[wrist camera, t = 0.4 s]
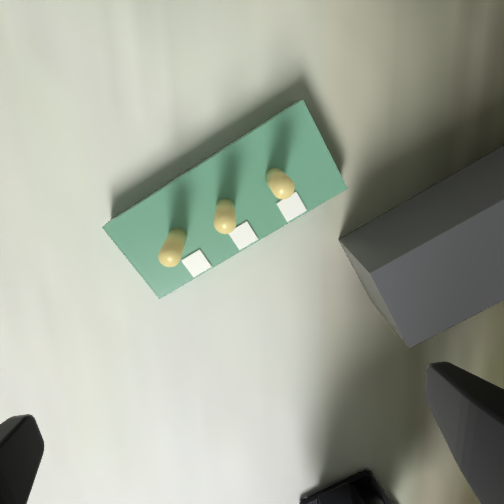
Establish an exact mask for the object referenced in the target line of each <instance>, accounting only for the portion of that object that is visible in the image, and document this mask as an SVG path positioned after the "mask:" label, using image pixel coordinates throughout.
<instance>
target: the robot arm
mask: <svg viewBox="0 0 504 504" xmlns="http://www.w3.org/2000/svg"><path fill="white" fill-rule="evenodd" d="M425 397H426V401H427V403H428V405H429V408H430V410H431V412H432V414H433V416H434V418H435V420H436V422H437V424H438V426H439V428H440V430H441V432H442V434H443V436H444V438H445V440H446V442H447V444H448V446H449V448H450V450H451V453H452V455H453V457H454V459H455V461H456V462H457V464H458V466H459V468H460V470H461V472H462V473H463V475H464V477H465V479H466V480H467V482H468V484H469V485H470V487H471V488H472V490H473V492H474V493H475V495H476V497H477V498H478V500H479V502H480V503H481V504H504V389H502V388H500V387H498V386H496V385H494V384H492V383H490V382H488V381H486V380H483V379H481V378H479V377H477V376H475V375H473V374H471V373H469V372H467V371H465V370H463V369H461V368H459V367H457V366H455V365H453V364H451V363H449V362H437V363H431V364H429V365H428V366H427V370H426V383H425ZM43 452H44V441H43V438H42V435H41V433H40V430H39V428H38V425H37V423H36V420H35V418H34V417H33V416H32V415H29V414H27V415H19V416H13V417H10V418H9V419H7V420H6V421H4V422H3V423H2V424H0V504H27V501H28V498H29V495H30V492H31V489H32V486H33V483H34V480H35V477H36V474H37V471H38V468H39V465H40V462H41V459H42V456H43ZM299 504H394V503H393V502H392V501H391V499H390V498H389V496H388V495H387V493H386V492H385V490H384V489H383V487H382V486H381V484H380V483H379V481H378V480H377V479H376V477H375V476H374V474H373V473H372V472H371V471H369V470H366V471H363V472H361V473H359V474H357V475H355V476H352V477H350V478H348V479H346V480H344V481H342V482H340V483H338V484H336V485H333V486H331V487H329V488H327V489H325V490H323V491H321V492H319V493H317V494H314V495H312V496H310V497H308V498H306V499H304V500H302V501H301V502H300V503H299Z"/></svg>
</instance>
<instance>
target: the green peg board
mask: <svg viewBox="0 0 504 504" xmlns="http://www.w3.org/2000/svg"><path fill="white" fill-rule="evenodd" d="M345 189H347V186H346V184H345V182H344V180H343V178H342V176H341V174H340V172H339V170H338V168H337V166H336V164H335V162H334V160H333V158H332V156H331V154H330V152H329V150H328V148H327V146H326V144H325V142H324V140H323V138H322V136H321V134H320V132H319V130H318V128H317V126H316V124H315V122H314V120H313V118H312V116H311V114H310V112H309V110H308V108H307V106H306V104H305V102H304V100H300V101H297V102H295V103H294V104H292V105H290V106H289V107H287V108H286V109H284V110H283V111H281V112H279V113H278V114H276V115H275V116H273V117H272V118H270V119H268V120H267V121H265V122H264V123H262V124H261V125H259V126H257V127H256V128H254V129H253V130H251V131H250V132H248V133H246V134H245V135H243V136H242V137H240V138H238V139H237V140H235V141H234V142H232V143H231V144H229V145H227V146H226V147H224V148H223V149H221V150H220V151H218V152H216V153H215V154H213V155H212V156H210V157H209V158H207V159H205V160H204V161H202V162H201V163H199V164H198V165H196V166H194V167H193V168H191V169H190V170H188V171H187V172H185V173H183V174H182V175H180V176H179V177H177V178H176V179H174V180H172V181H171V182H169V183H168V184H166V185H165V186H163V187H161V188H160V189H158V190H157V191H155V192H154V193H152V194H150V195H149V196H147V197H146V198H144V199H143V200H141V201H139V202H138V203H136V204H135V205H133V206H132V207H130V208H128V209H127V210H125V211H124V212H122V213H121V214H119V215H117V216H116V217H114V218H113V219H111V220H110V221H109V222H108V223H106V224H105V225H104V226H103V227H102V228H103V229H104V230H105V232H106V233H107V234H108V235H109V237H110V238H111V239H112V240H113V242H114V243H115V244H116V245H117V247H118V248H119V249H120V250H121V252H122V253H123V254H124V255H125V257H126V258H127V259H128V260H129V262H130V263H131V264H132V265H133V267H134V268H135V269H136V270H137V272H138V273H139V274H140V275H141V277H142V278H143V279H144V280H145V282H146V283H147V284H148V285H149V287H150V288H151V289H152V290H153V292H154V293H155V294H156V295H157V297H158V298H159V299H160V298H162V297H164V296H166V295H167V294H169V293H171V292H172V291H174V290H176V289H177V288H179V287H181V286H182V285H184V284H186V283H188V282H189V281H191V280H193V279H194V278H196V277H198V276H199V275H201V274H203V273H205V272H206V271H208V270H210V269H211V268H213V267H215V266H216V265H218V264H220V263H222V262H223V261H225V260H227V259H228V258H230V257H232V256H233V255H235V254H237V253H239V252H240V251H242V250H244V249H245V248H247V247H249V246H250V245H252V244H254V243H255V242H257V241H259V240H261V239H262V238H264V237H266V236H267V235H269V234H271V233H272V232H274V231H276V230H278V229H279V228H281V227H283V226H284V225H286V224H288V223H289V222H291V221H293V220H295V219H296V218H298V217H300V216H301V215H303V214H305V213H306V212H308V211H310V210H311V209H313V208H315V207H317V206H318V205H320V204H322V203H323V202H325V201H327V200H328V199H330V198H332V197H334V196H335V195H337V194H339V193H340V192H342V191H344V190H345Z"/></svg>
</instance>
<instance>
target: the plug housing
mask: <svg viewBox="0 0 504 504" xmlns="http://www.w3.org/2000/svg"><path fill="white" fill-rule="evenodd" d="M339 241H340V243H341V245H342V247H343V249H344V251H345V253H346V254H347V256H348V258H349V260H350V262H351V264H352V266H353V267H354V269H355V271H356V273H357V275H358V277H359V279H360V280H361V282H362V284H363V286H364V288H365V290H366V292H367V293H368V295H369V297H370V299H371V301H372V302H373V304H374V305H375V306H376V308H377V309H378V310H379V311H380V313H381V314H382V315H383V316H384V318H385V319H386V320H387V321H388V323H389V324H390V325H391V326H392V328H393V329H394V330H395V331H396V333H397V334H398V335H399V336H400V338H401V339H402V340H403V341H404V343H405V344H406V345H407V347H408V348H411V347H413V346H415V345H417V344H419V343H421V342H423V341H425V340H427V339H429V338H431V337H433V336H435V335H437V334H438V333H440V332H442V331H444V330H446V329H448V328H450V327H452V326H454V325H456V324H458V323H460V322H462V321H464V320H466V319H468V318H470V317H472V316H474V315H475V314H477V313H479V312H481V311H483V310H485V309H487V308H489V307H491V306H493V305H495V304H497V303H499V302H501V301H503V300H504V145H503V146H502V147H500V148H498V149H496V150H495V151H493V152H491V153H489V154H488V155H486V156H484V157H482V158H481V159H479V160H477V161H475V162H474V163H472V164H470V165H468V166H467V167H465V168H463V169H461V170H460V171H458V172H456V173H454V174H453V175H451V176H449V177H447V178H446V179H444V180H442V181H440V182H439V183H437V184H435V185H433V186H432V187H430V188H428V189H426V190H425V191H423V192H421V193H419V194H418V195H416V196H414V197H412V198H411V199H409V200H407V201H405V202H404V203H402V204H400V205H398V206H397V207H395V208H393V209H391V210H390V211H388V212H386V213H384V214H383V215H381V216H379V217H377V218H376V219H374V220H372V221H370V222H369V223H367V224H365V225H363V226H362V227H360V228H358V229H356V230H355V231H353V232H351V233H349V234H347V235H346V236H344V237H342V238H340V239H339Z"/></svg>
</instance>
